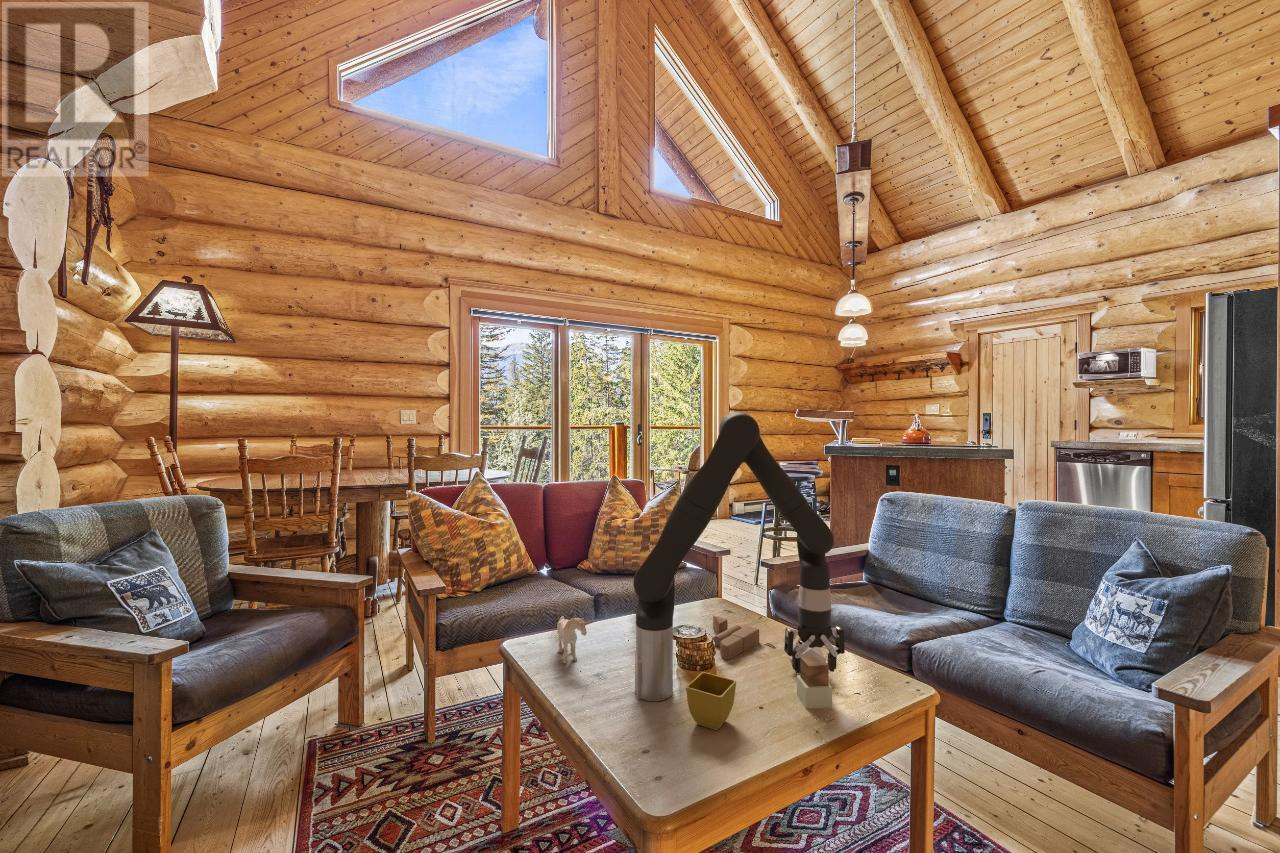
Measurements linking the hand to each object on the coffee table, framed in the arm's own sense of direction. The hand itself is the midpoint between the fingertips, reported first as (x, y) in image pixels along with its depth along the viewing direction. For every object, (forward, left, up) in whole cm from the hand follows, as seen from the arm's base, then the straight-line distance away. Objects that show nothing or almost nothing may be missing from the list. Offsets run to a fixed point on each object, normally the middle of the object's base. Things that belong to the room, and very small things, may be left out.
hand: (814, 671), depth 137 cm
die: (+4, +14, -7) cm, 16 cm away
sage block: (0, 0, -7) cm, 7 cm away
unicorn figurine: (-57, +31, -8) cm, 65 cm away
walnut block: (0, 0, -2) cm, 2 cm away
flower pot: (-27, -7, -8) cm, 29 cm away
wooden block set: (-14, +36, -8) cm, 40 cm away
